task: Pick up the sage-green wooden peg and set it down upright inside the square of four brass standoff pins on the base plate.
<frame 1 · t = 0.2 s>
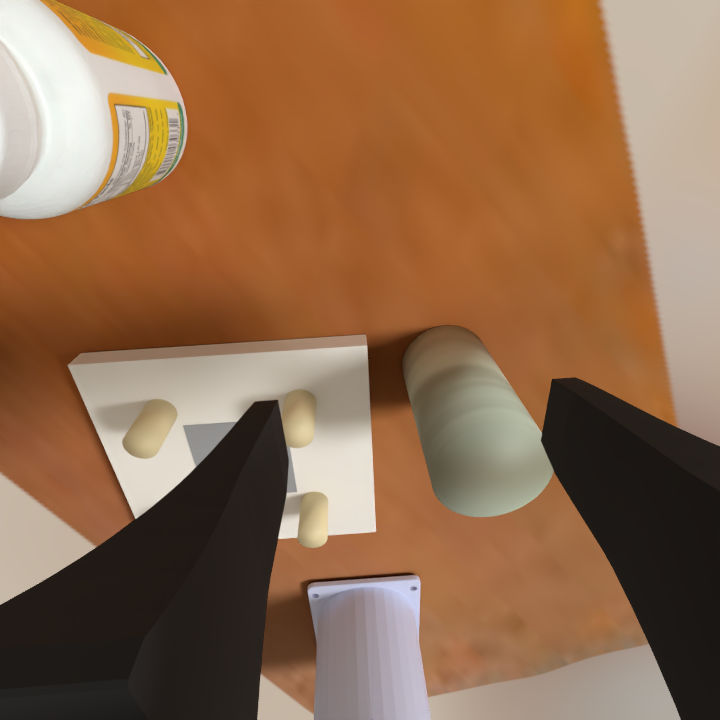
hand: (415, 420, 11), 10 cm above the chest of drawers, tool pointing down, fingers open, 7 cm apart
base plate: (247, 445, 24), on the chest of drawers
peg: (444, 363, 22), on the chest of drawers
supplement bottle: (119, 112, 16), on the chest of drawers
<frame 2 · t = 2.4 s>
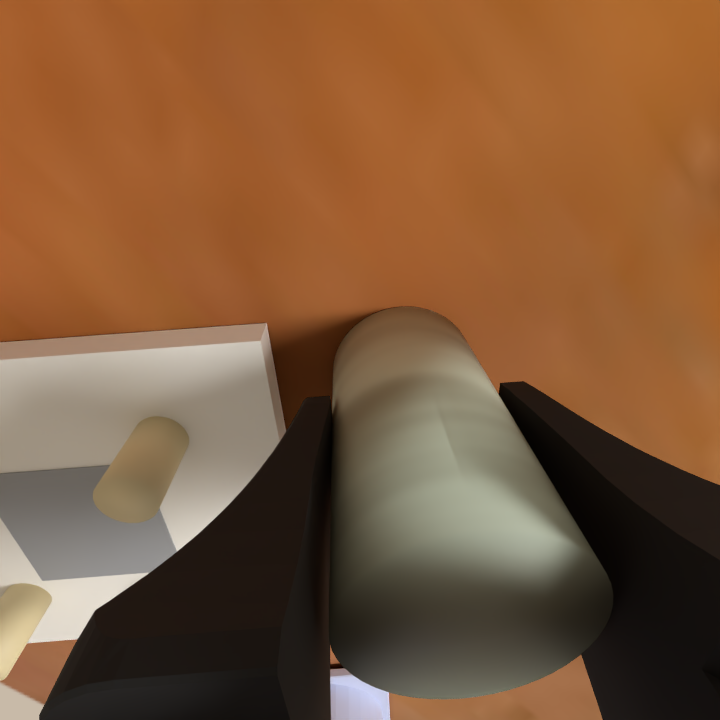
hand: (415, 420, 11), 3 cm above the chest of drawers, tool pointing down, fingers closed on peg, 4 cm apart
base plate: (104, 499, 16), on the chest of drawers
peg: (401, 371, 14), on the chest of drawers, touching gripper
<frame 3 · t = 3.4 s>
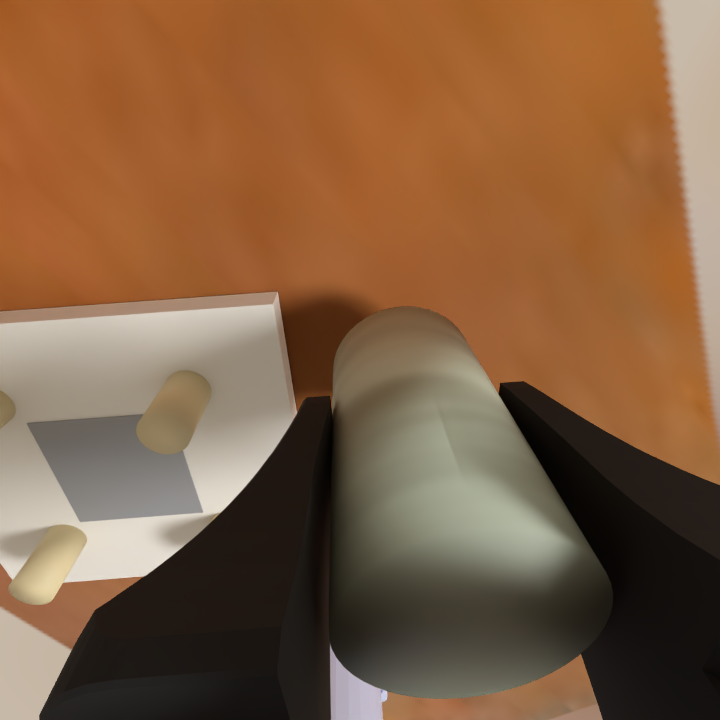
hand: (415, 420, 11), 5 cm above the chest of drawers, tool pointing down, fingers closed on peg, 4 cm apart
base plate: (134, 450, 18), on the chest of drawers
peg: (401, 370, 14), point 3 cm above the chest of drawers, touching gripper
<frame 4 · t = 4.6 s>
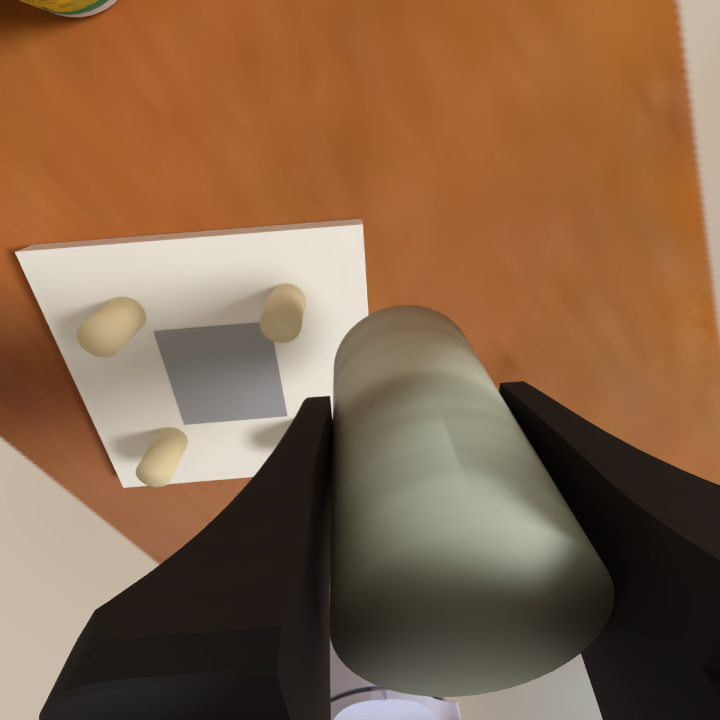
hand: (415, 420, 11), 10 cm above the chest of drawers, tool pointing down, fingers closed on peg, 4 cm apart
base plate: (230, 363, 21), on the chest of drawers
peg: (402, 369, 14), point 7 cm above the chest of drawers, touching gripper
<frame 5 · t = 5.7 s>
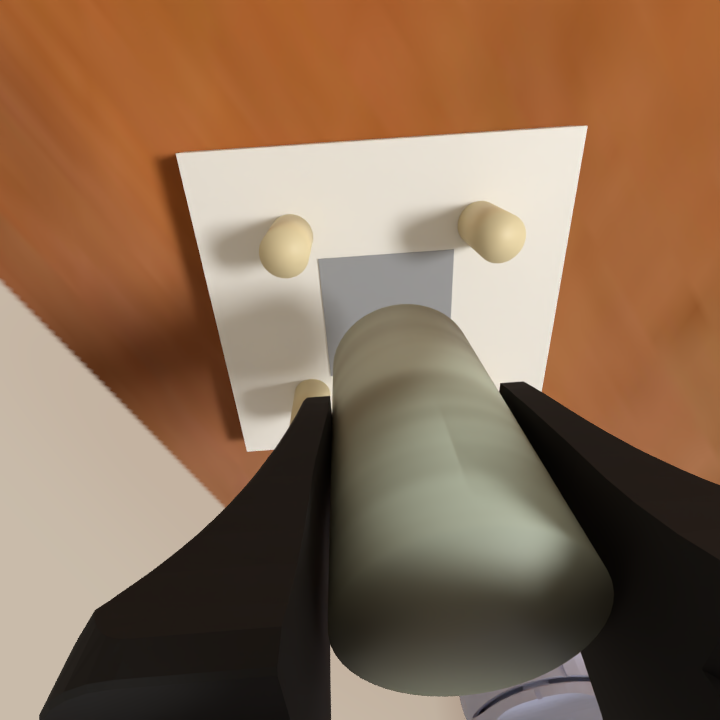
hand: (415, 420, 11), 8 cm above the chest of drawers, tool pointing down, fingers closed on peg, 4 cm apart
base plate: (385, 306, 19), on the chest of drawers
peg: (402, 368, 14), point 6 cm above the chest of drawers, touching gripper
when the fingers open (5 cm above the chest of drawers, at t = 6.8 s): peg stays where it is, resting on base plate.
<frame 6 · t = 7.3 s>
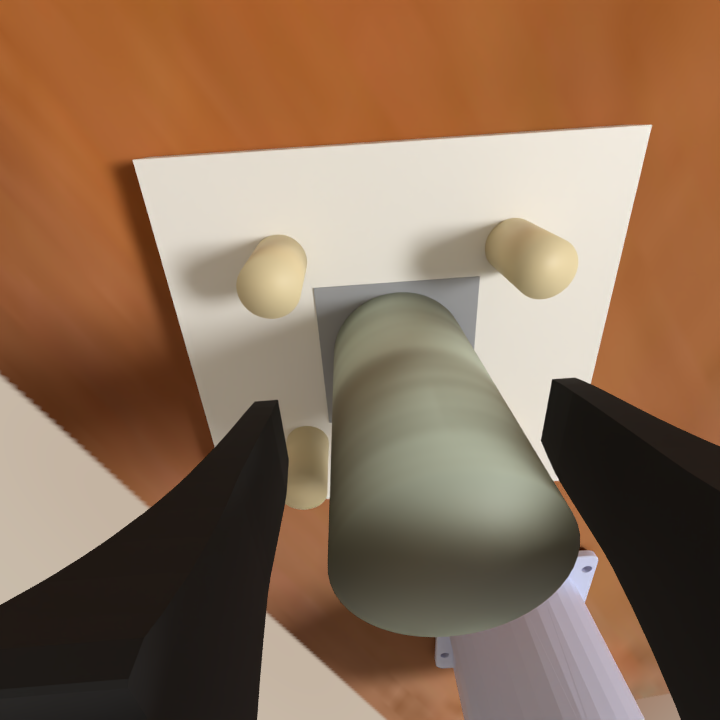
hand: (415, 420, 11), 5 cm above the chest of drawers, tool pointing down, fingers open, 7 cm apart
base plate: (393, 339, 16), on the chest of drawers
peg: (398, 354, 15), point 1 cm above the chest of drawers, touching base plate
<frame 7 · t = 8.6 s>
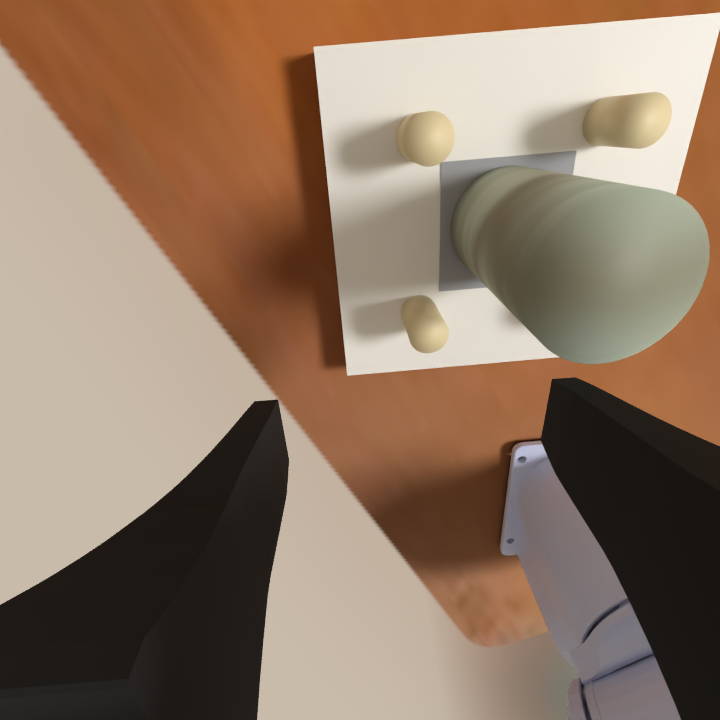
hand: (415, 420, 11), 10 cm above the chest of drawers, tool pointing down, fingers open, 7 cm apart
base plate: (493, 220, 19), on the chest of drawers
peg: (504, 224, 18), point 1 cm above the chest of drawers, touching base plate
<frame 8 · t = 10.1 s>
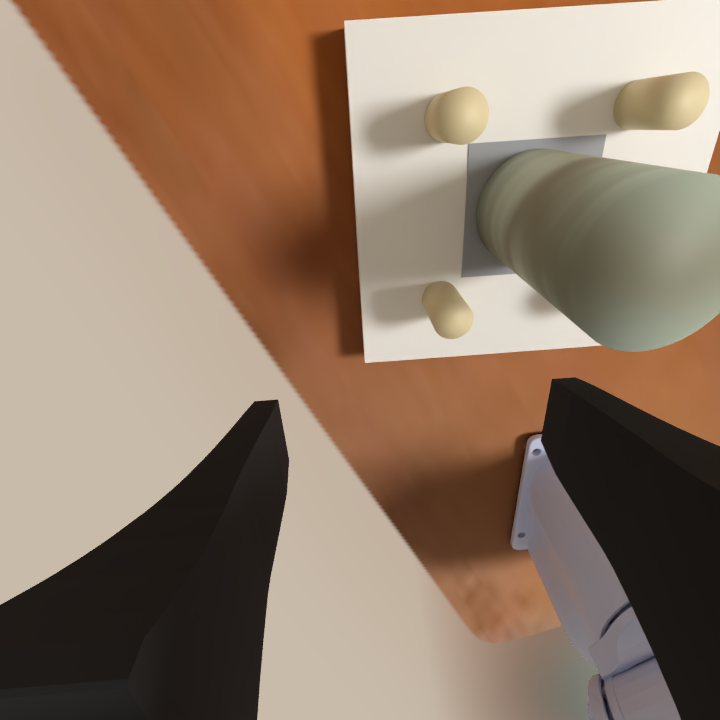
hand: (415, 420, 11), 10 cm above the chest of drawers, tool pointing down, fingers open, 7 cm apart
base plate: (517, 205, 18), on the chest of drawers
peg: (530, 209, 17), point 1 cm above the chest of drawers, touching base plate
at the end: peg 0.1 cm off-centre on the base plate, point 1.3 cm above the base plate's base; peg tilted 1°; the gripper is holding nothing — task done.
